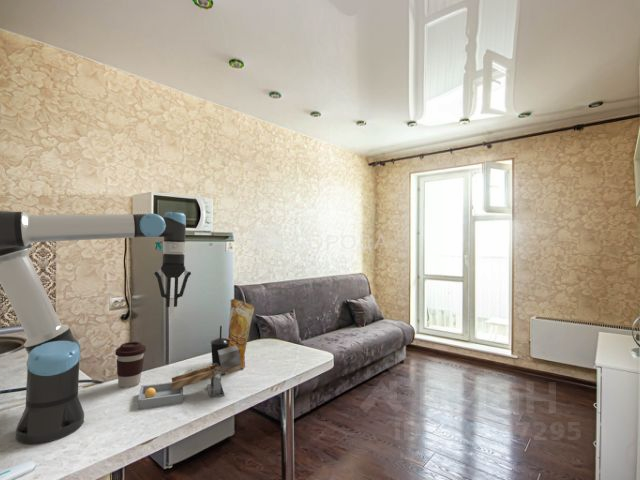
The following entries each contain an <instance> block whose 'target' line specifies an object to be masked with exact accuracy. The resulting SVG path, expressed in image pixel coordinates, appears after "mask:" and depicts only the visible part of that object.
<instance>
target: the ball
mask: <svg viewBox="0 0 640 480" xmlns="http://www.w3.org/2000/svg"><path fill="white" fill-rule="evenodd" d="M155 394H156V390H155V389H154V388H148V389H147V390H146V391H145V397H146V398H153V397H154V396H155Z"/></svg>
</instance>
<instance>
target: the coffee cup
mask: <svg viewBox="0 0 640 480" xmlns="http://www.w3.org/2000/svg"><path fill="white" fill-rule="evenodd" d="M146 350H147V349H146V346H145V345H144V344H142V343H141V342H139V341H128V342H124V343H122V344H121V345H120V346H119V347H117V348H116V349H115V356H117V359H116V372H117V373H116V375H117V380H118V381H117V383H118V385H117V386H119V388H133V387H135V386H138V385H139V384H140V383H141V379H142V372H143V367H144V360H145V356H144V354H145V352H146Z"/></svg>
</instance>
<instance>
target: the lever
mask: <svg viewBox="0 0 640 480" xmlns="http://www.w3.org/2000/svg"><path fill="white" fill-rule="evenodd" d="M218 355H219V360H220V366H219V367H215V365H212V364H211V365H208V366H205V367H202V368H200V369H199V368H198V369H196V370H193V368H191V369H187V370H183V371H181V372H180V374H179V375H176V376H173V377H171V382H172V383H171V385H172V390H175V389H178V388H181V387H183V388H184V387H187V386H191V385H193V384H196V383H198V382H202V381H206V380H208V379H211V378H212V377H214V371H218V370H221V374H224V373H225V374H226V373H230V372H234V371H237V370H239V369H240V368H242V365H241V359H240V354H239V349H238V347H237V345H235V346H231V347H228V348H224V349H221V350H218Z"/></svg>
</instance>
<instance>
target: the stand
mask: <svg viewBox="0 0 640 480" xmlns="http://www.w3.org/2000/svg"><path fill="white" fill-rule="evenodd" d="M211 365H215V367H219V363H212V362H211ZM206 388H207V391H208V392H207V393H208V396H209V399H211V398H212V399H213V398H217V397H225V392H224V390H223V389H224V387H223V384H222V376H221V370H218V371H214V377H212V378H210V383H207V384H206Z"/></svg>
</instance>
